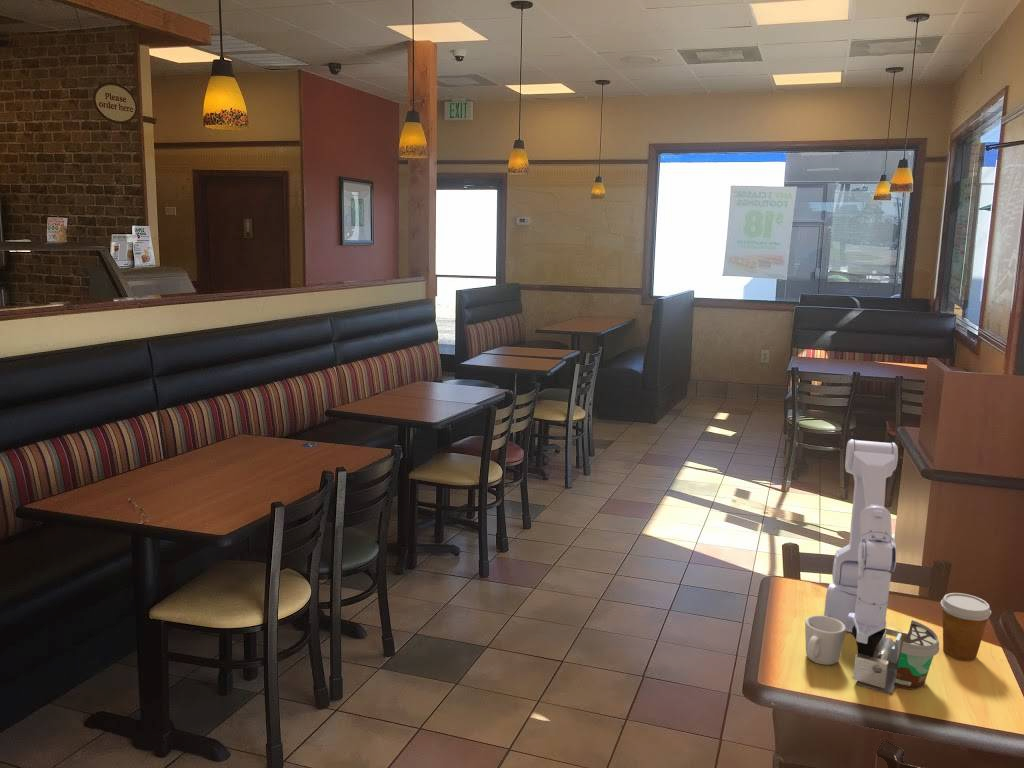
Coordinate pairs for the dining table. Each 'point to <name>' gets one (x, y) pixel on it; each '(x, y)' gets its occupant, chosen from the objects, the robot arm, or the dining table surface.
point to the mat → (890, 678)
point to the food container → (916, 656)
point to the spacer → (895, 632)
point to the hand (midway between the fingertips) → (865, 661)
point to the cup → (824, 639)
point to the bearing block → (895, 649)
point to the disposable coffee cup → (963, 625)
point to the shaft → (873, 666)
